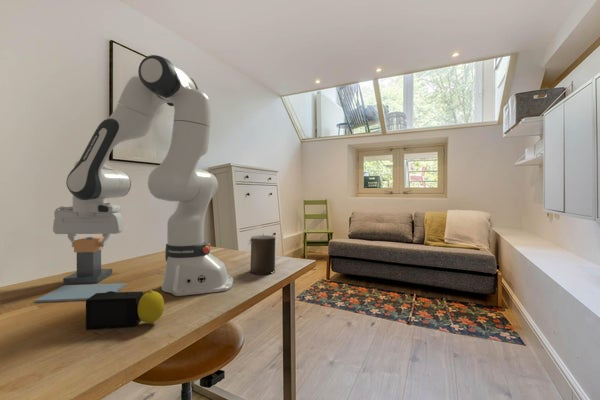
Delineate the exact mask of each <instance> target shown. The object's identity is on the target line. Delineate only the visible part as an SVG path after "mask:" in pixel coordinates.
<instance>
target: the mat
mask: <svg viewBox="0 0 600 400" xmlns="http://www.w3.org/2000/svg"><path fill="white" fill-rule="evenodd" d="M126 286H127V283H126V282H124V283H123V282H121V283H88V284H63V285H61V286H60V287H58V288H56V289H55V290H53V291H50V292H49V293H46V294H44V295H43V296H42V295H41V297H39V298H37V299H35V300H34V303H53V302H54V303H55V302H56V303H57V302H73V301H74V302H75V301H76V302H78V301H79V302H80V301H86V300H87V299H88V298H90V297H91V296H93V295H94V294H96V293H106V292H109V291H113V292H120V290H122V289H123V288H125V287H126Z"/></svg>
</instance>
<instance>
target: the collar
mask: <svg viewBox="0 0 600 400" xmlns="http://www.w3.org/2000/svg"><path fill="white" fill-rule="evenodd" d="M92 237H93V239H92V240H86V237H81V238H78V239H76V240H74V247H73V253H77V252H96V251H98V250H101V251H102V250H103V249H104V247H99V242H100V241H102V240H103V239H104V237H102V236H101V237H100V236H99V237H96V236H95V237H94V236H92Z"/></svg>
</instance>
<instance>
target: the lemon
mask: <svg viewBox="0 0 600 400" xmlns="http://www.w3.org/2000/svg"><path fill="white" fill-rule="evenodd" d="M164 310H165V301H164V297H163V295H162V294H161V293H160V292H158V291H156V290H155V291H154V290H153V289H151V290H148V292H146V293H143V296H142V297H141V299H140V300H139V303H138V308H137V311H138V316H139V318H140V319H141V320H142V321H141V322H143V323H147V324H148V325H153V324H154V322H156V321H158V320H159V319H160V318H161V317H162V316H163V313H164Z"/></svg>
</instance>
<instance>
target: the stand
mask: <svg viewBox="0 0 600 400" xmlns="http://www.w3.org/2000/svg"><path fill="white" fill-rule="evenodd" d="M93 237H94V236H87V237H86V240H92V239H93ZM112 275H113V268H102V249H101V250H98V251H96V252H76V272H74V273H72V274H70V275H67V276H65V277H63V278H62V285H88V284H100V282H101V281H103V280H105V279H107V278H108V277H110V276H112Z"/></svg>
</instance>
